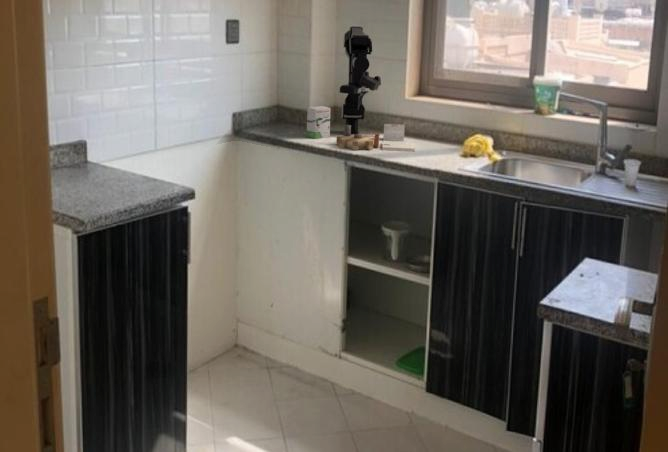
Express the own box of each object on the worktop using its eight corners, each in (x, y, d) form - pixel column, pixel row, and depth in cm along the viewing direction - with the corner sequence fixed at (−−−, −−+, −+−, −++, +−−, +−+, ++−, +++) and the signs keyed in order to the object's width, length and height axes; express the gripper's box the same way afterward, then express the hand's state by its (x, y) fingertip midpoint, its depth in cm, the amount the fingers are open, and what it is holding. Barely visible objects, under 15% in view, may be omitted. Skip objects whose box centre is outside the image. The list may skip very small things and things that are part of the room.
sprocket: (328, 145, 320) (328, 126, 318) (353, 139, 332) (354, 121, 330) (361, 151, 311) (362, 132, 309) (386, 145, 323) (387, 127, 321)
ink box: (314, 139, 332) (315, 109, 329) (305, 137, 336) (306, 107, 332) (330, 136, 338) (331, 107, 334) (321, 134, 341) (322, 105, 338)
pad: (382, 143, 328) (382, 141, 327) (413, 145, 327) (413, 142, 327) (382, 149, 317) (382, 146, 317) (414, 151, 317) (414, 148, 316)
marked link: (383, 138, 339) (384, 123, 337) (403, 139, 338) (404, 124, 337) (383, 140, 335) (384, 125, 333) (403, 141, 335) (404, 126, 333)
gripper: (366, 73, 308) (364, 115, 313) (388, 68, 323) (386, 109, 328) (339, 70, 313) (337, 112, 318) (363, 65, 329) (361, 105, 333)
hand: (356, 109), depth 324 cm, fingers closed
